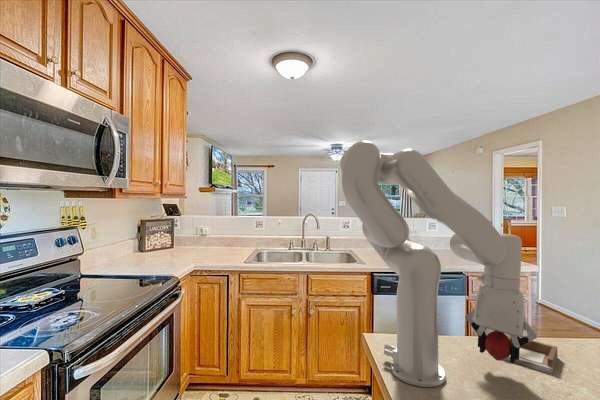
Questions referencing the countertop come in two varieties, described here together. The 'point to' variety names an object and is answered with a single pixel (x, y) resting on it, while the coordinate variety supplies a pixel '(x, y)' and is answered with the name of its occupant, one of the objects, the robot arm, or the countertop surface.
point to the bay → (537, 356)
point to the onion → (498, 345)
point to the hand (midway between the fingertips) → (497, 355)
